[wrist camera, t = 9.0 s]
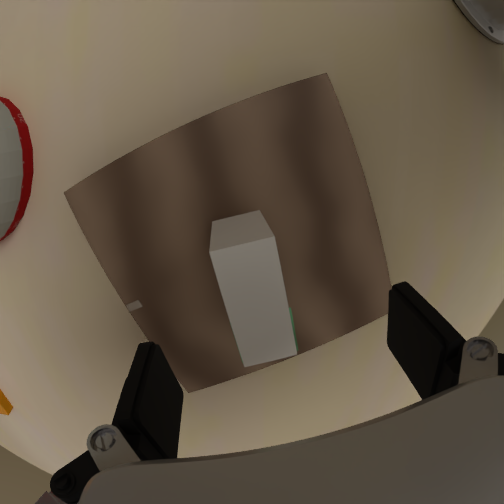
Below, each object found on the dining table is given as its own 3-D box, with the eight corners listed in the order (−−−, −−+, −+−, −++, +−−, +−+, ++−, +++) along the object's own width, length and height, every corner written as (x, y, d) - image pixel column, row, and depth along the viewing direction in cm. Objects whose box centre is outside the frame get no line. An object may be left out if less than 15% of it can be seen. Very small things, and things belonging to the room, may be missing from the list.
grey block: (212, 216, 20) (209, 252, 14) (257, 206, 20) (274, 236, 14) (252, 357, 24) (262, 418, 18) (287, 348, 24) (306, 407, 18)
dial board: (317, 78, 19) (327, 72, 17) (385, 299, 26) (395, 310, 24) (75, 188, 20) (63, 192, 18) (189, 378, 27) (188, 393, 25)
